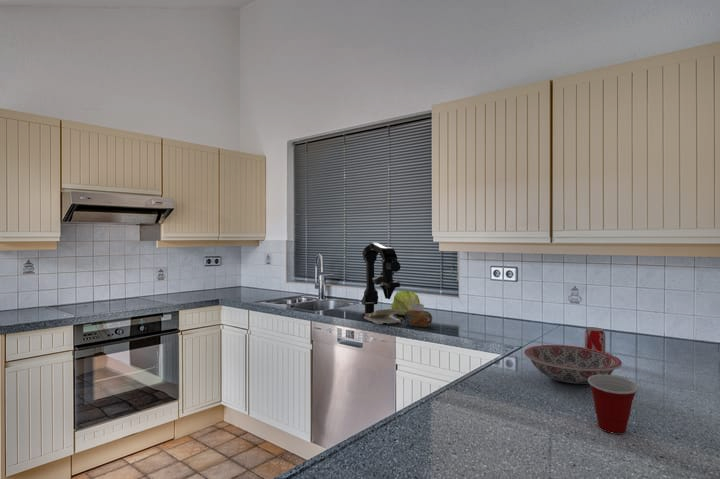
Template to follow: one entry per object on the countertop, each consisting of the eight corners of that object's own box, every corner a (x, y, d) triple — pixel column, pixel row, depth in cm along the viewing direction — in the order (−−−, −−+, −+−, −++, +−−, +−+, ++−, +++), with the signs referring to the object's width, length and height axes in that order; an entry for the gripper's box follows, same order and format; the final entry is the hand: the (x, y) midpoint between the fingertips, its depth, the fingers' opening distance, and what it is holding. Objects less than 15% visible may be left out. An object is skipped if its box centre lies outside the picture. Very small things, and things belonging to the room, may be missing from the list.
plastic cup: (590, 435, 104) (590, 385, 104) (584, 417, 114) (585, 372, 114) (643, 443, 100) (643, 391, 100) (632, 424, 110) (632, 377, 110)
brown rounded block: (403, 325, 232) (403, 309, 232) (406, 324, 235) (406, 308, 235) (430, 328, 225) (431, 311, 225) (432, 326, 228) (432, 310, 228)
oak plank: (368, 317, 246) (368, 314, 246) (388, 315, 251) (388, 313, 252) (378, 312, 234) (377, 310, 235) (399, 311, 239) (399, 308, 240)
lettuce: (394, 321, 247) (398, 296, 245) (388, 308, 271) (392, 286, 270) (423, 325, 248) (427, 301, 247) (415, 312, 273) (419, 290, 271)
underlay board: (364, 318, 250) (364, 313, 250) (385, 316, 256) (385, 312, 256) (377, 324, 234) (377, 319, 234) (400, 322, 239) (400, 317, 239)
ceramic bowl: (620, 403, 124) (621, 375, 124) (515, 384, 140) (515, 359, 140) (622, 375, 149) (622, 352, 149) (532, 362, 164) (532, 341, 164)
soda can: (597, 363, 163) (597, 331, 163) (580, 358, 169) (580, 327, 169) (609, 360, 166) (609, 329, 166) (592, 356, 172) (592, 326, 172)
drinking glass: (419, 324, 233) (419, 306, 233) (409, 322, 238) (409, 304, 237) (426, 322, 238) (426, 304, 238) (416, 321, 243) (416, 303, 242)
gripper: (367, 269, 244) (367, 297, 244) (381, 272, 226) (381, 302, 227) (384, 269, 248) (384, 296, 248) (400, 271, 231) (400, 300, 231)
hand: (387, 298), depth 238 cm, fingers open, 3 cm apart
